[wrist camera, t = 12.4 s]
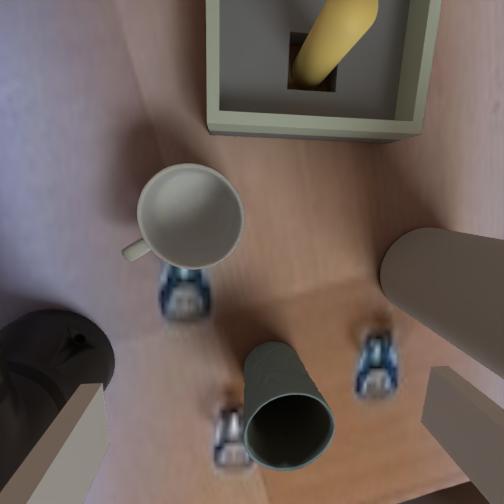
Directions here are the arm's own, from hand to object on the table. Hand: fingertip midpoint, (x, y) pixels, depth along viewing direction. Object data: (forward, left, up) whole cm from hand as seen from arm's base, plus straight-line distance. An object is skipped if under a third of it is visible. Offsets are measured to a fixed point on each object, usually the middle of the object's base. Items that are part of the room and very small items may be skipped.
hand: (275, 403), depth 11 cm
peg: (+8, +22, -27) cm, 36 cm away
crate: (+8, +24, -27) cm, 36 cm away
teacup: (-7, +5, -27) cm, 28 cm away
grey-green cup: (+5, -17, -27) cm, 32 cm away
